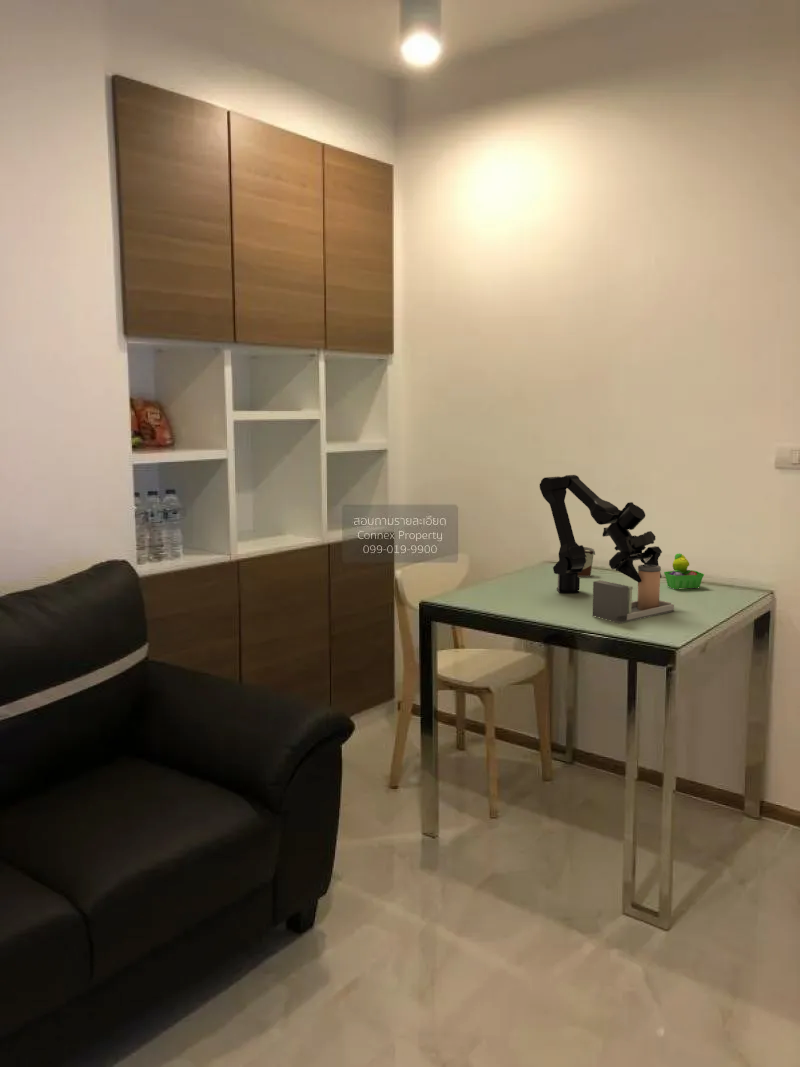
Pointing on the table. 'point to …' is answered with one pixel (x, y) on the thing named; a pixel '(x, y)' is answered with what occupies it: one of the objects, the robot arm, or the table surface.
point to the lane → (620, 603)
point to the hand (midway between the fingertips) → (650, 579)
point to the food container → (587, 562)
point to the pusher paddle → (629, 598)
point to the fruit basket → (682, 574)
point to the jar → (648, 587)
